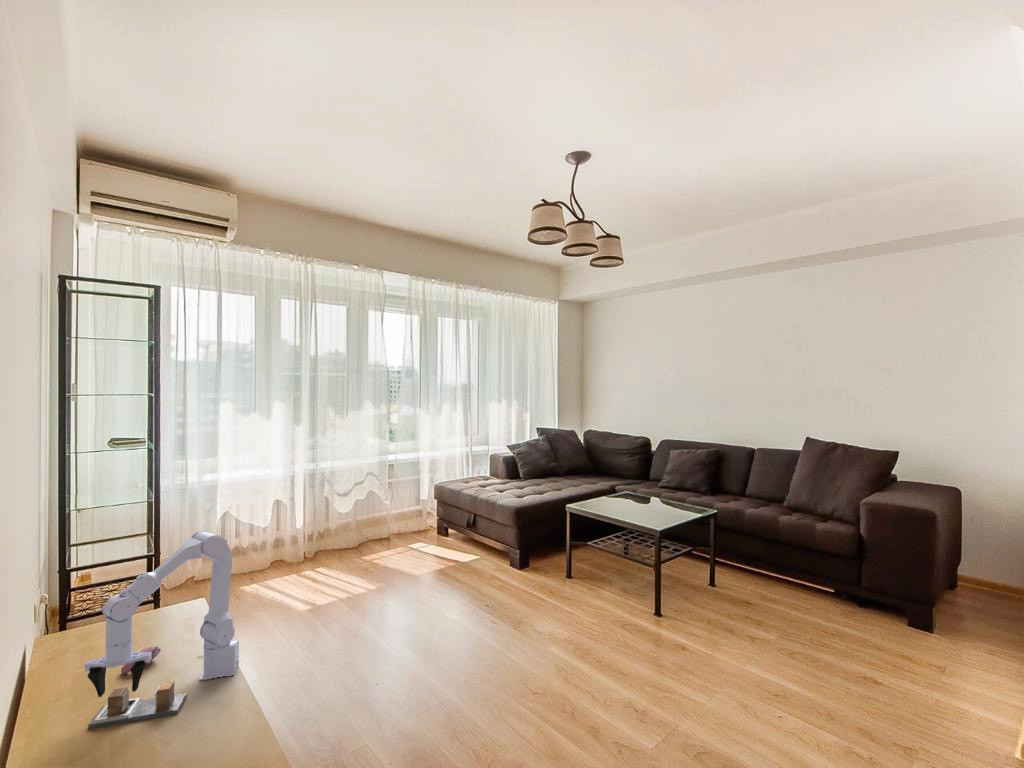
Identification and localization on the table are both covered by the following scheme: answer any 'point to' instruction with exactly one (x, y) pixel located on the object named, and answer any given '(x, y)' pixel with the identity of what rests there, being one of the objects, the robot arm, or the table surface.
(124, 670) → the video game controller
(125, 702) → the wooden block
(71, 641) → the table surface
